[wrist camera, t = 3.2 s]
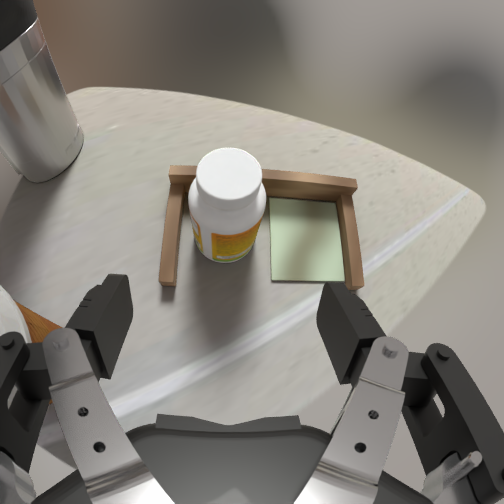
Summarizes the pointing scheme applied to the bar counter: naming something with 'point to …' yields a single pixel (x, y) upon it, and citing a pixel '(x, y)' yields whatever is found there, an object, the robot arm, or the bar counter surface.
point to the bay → (287, 227)
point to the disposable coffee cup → (22, 324)
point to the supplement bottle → (226, 204)
